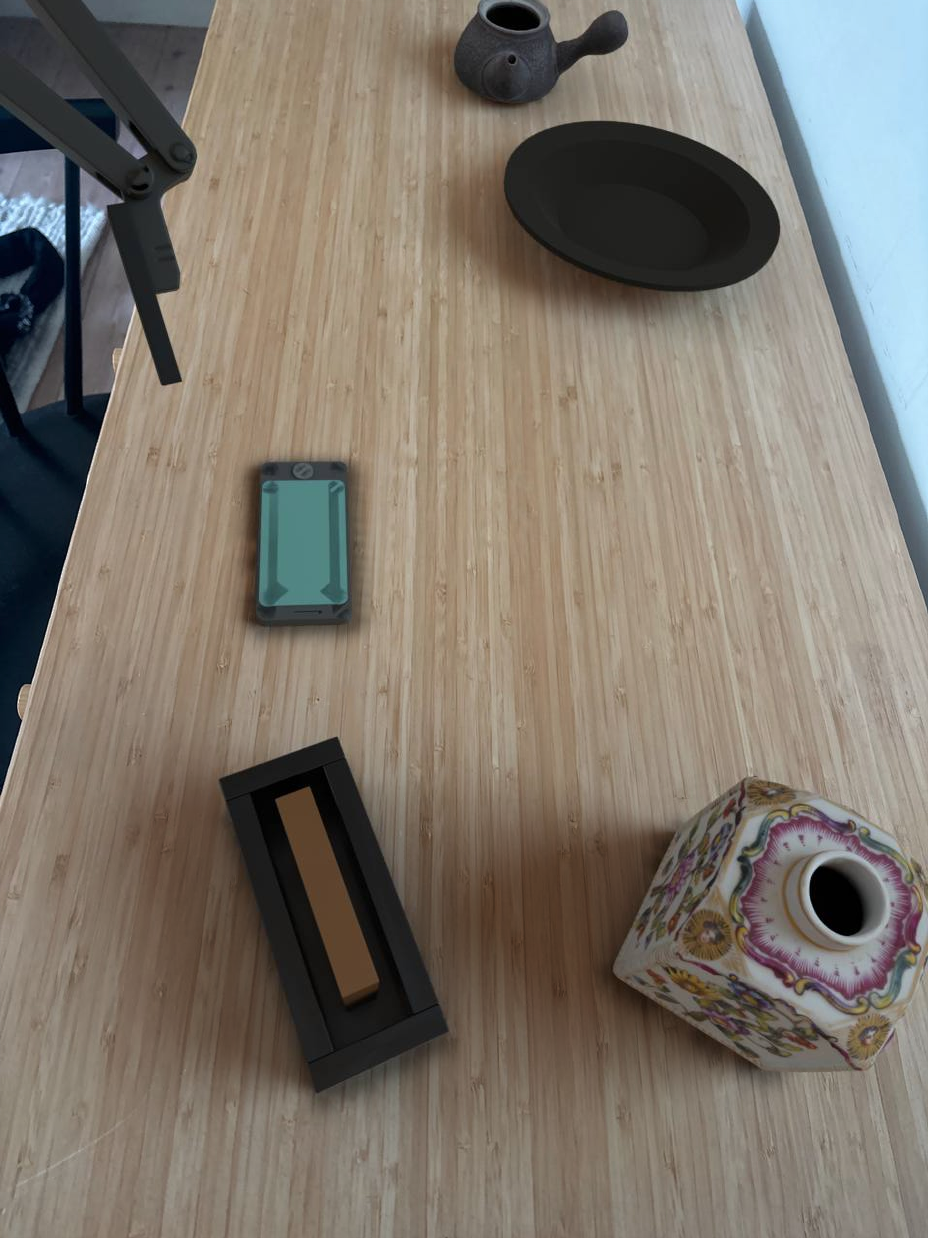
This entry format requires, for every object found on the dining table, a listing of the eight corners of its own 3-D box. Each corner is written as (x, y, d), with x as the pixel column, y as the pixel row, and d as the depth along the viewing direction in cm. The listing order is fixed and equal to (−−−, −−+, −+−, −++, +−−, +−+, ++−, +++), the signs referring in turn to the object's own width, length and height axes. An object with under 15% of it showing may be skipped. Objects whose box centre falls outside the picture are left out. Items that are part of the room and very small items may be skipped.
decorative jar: (676, 825, 62) (781, 741, 46) (825, 913, 60) (988, 857, 45) (603, 978, 57) (694, 942, 41) (764, 1080, 55) (924, 1083, 39)
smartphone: (347, 459, 73) (351, 616, 66) (347, 468, 74) (351, 623, 67) (257, 460, 72) (252, 619, 65) (259, 469, 73) (254, 626, 66)
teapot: (446, 120, 98) (454, 26, 89) (456, 42, 105) (464, -52, 96) (610, 143, 99) (634, 52, 90) (609, 64, 106) (631, -27, 97)
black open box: (237, 817, 60) (217, 778, 52) (341, 778, 62) (337, 735, 54) (323, 1091, 53) (316, 1094, 45) (437, 1037, 54) (449, 1031, 47)
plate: (470, 284, 86) (476, 237, 81) (526, 144, 97) (534, 94, 92) (744, 361, 85) (767, 317, 80) (768, 210, 96) (790, 163, 91)
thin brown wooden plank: (290, 846, 58) (274, 798, 48) (319, 835, 59) (309, 785, 48) (346, 1012, 54) (342, 998, 44) (377, 998, 54) (379, 981, 44)
